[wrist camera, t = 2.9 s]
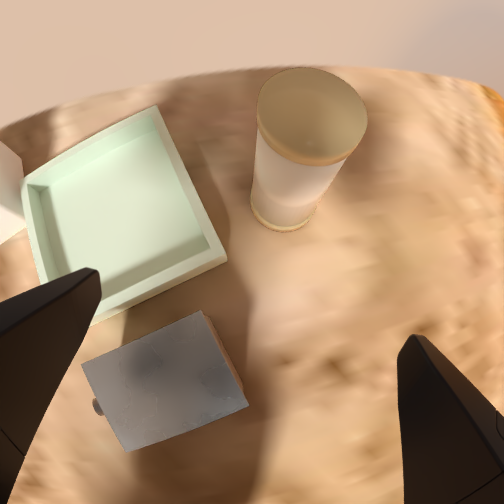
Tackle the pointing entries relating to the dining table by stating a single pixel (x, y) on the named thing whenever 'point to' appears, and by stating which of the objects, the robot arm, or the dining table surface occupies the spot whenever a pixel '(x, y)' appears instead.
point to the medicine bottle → (10, 194)
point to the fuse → (301, 143)
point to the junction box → (165, 383)
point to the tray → (120, 214)
